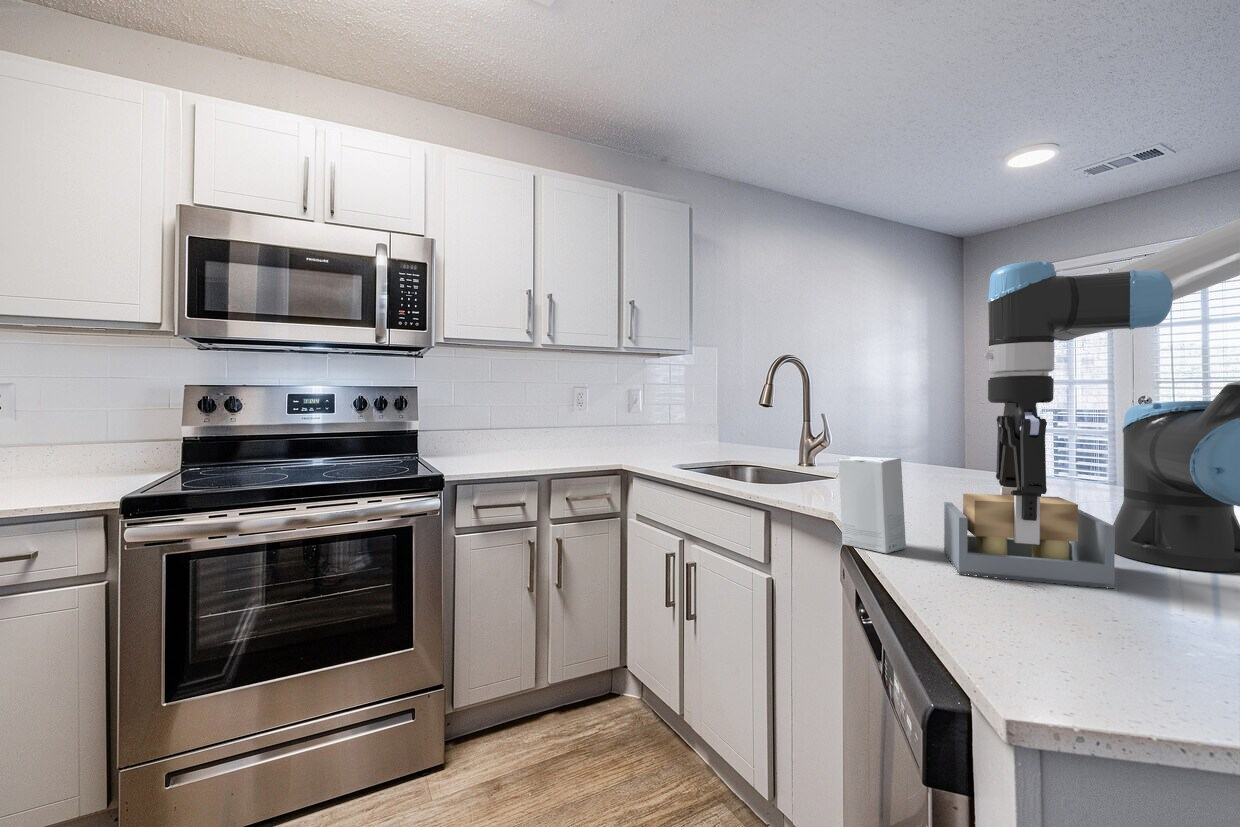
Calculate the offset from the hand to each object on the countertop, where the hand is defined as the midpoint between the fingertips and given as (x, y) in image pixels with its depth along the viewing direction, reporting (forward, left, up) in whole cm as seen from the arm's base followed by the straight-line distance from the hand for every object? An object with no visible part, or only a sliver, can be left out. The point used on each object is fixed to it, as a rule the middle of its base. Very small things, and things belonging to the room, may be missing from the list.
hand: (1018, 536), depth 78 cm
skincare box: (+19, -6, -5) cm, 20 cm away
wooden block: (0, 0, 0) cm, 0 cm away
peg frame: (0, 0, -5) cm, 5 cm away
